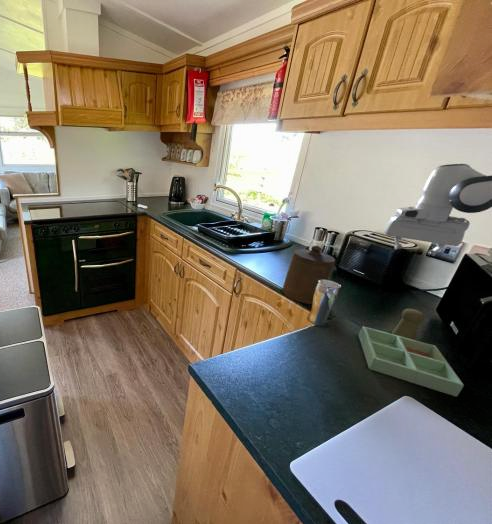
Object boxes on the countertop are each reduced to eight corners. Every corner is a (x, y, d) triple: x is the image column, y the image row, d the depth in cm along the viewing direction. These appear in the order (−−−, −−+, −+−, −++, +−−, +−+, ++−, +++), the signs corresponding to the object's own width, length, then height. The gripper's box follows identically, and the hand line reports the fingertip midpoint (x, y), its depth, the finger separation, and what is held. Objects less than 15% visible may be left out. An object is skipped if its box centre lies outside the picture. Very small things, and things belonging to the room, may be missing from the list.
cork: (397, 343, 93) (411, 314, 89) (385, 332, 98) (398, 304, 94) (418, 346, 92) (433, 317, 88) (405, 335, 98) (418, 307, 94)
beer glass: (309, 314, 107) (321, 277, 101) (330, 322, 102) (344, 284, 97) (302, 320, 102) (315, 282, 97) (324, 329, 98) (338, 290, 92)
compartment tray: (430, 355, 88) (435, 345, 87) (456, 397, 73) (464, 385, 71) (358, 335, 96) (362, 326, 94) (369, 369, 80) (374, 358, 79)
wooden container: (328, 299, 119) (345, 249, 111) (309, 307, 111) (326, 254, 103) (294, 285, 130) (308, 238, 122) (274, 291, 123) (288, 242, 115)
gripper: (467, 217, 96) (448, 256, 101) (391, 208, 104) (377, 244, 109) (477, 220, 91) (456, 261, 96) (396, 210, 99) (381, 248, 104)
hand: (413, 252), depth 103 cm, fingers open, 8 cm apart
